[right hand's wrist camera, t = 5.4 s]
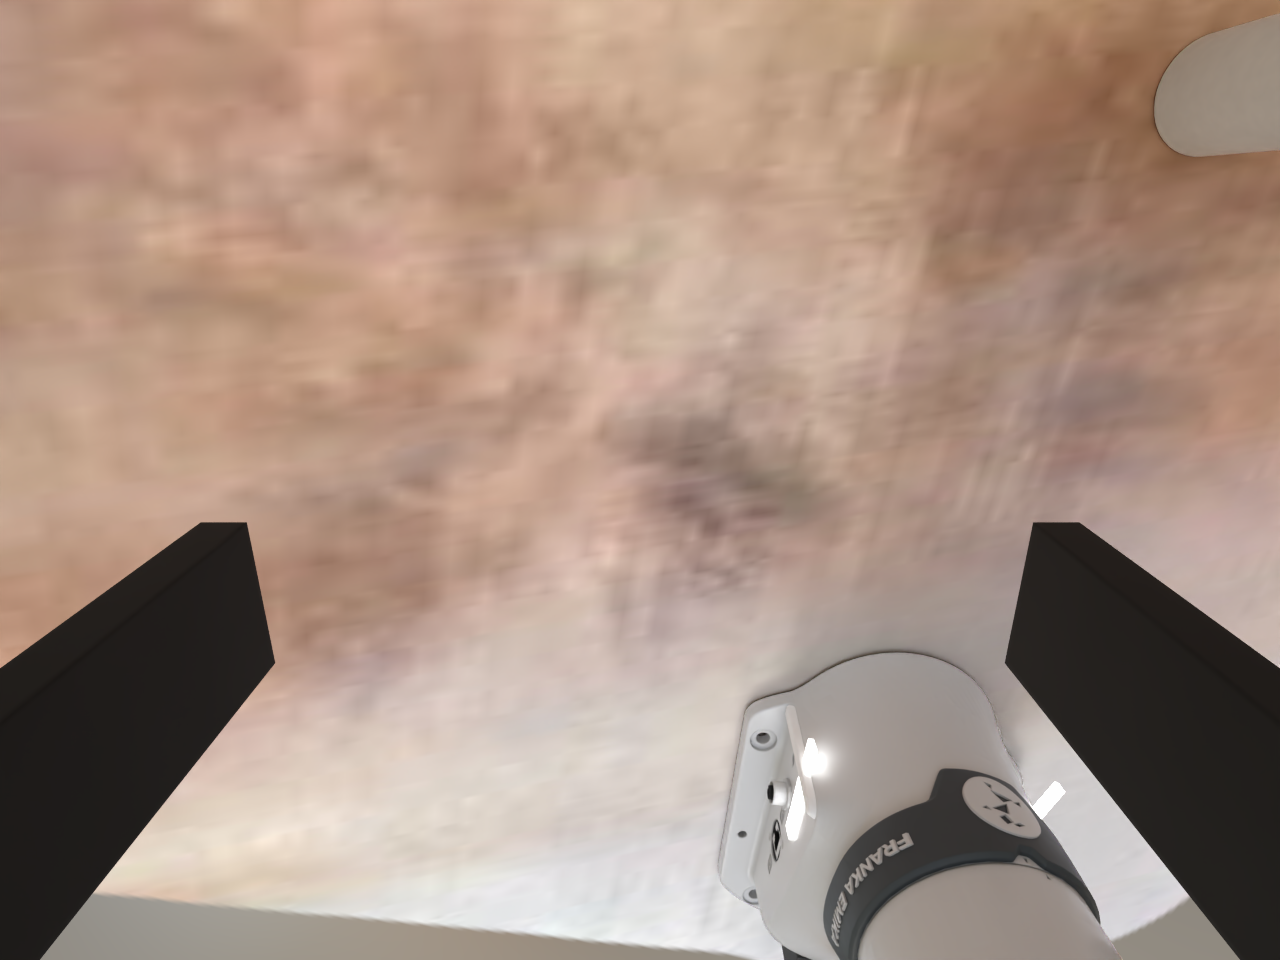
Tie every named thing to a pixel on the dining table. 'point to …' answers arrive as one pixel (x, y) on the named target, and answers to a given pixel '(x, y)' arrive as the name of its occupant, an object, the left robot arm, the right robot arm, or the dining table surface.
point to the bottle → (1223, 92)
